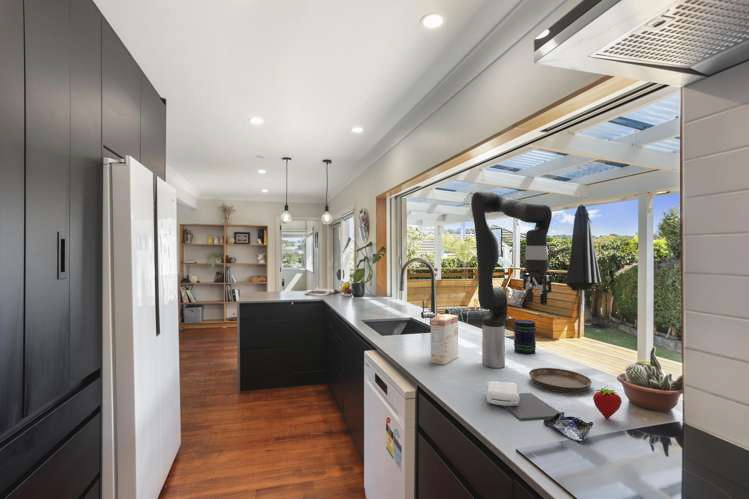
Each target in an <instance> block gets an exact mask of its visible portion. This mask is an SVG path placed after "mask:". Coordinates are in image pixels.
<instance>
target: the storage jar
mask: <svg viewBox="0 0 749 499" xmlns="http://www.w3.org/2000/svg"><path fill="white" fill-rule="evenodd" d="M513 321H514V324H513V333H514V339H513V348H514V349H513V350H514V353H515V354H518V355H524V354H525V355H527V356H528V355H529V356H531V355H530V354H533V355H536V349H537V345H536V343H537V342H536V332H537V330H536V328H537V327H536V321H534V320H531V319H514V320H513Z"/></svg>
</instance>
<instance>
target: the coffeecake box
mask: <svg viewBox="0 0 749 499" xmlns="http://www.w3.org/2000/svg"><path fill="white" fill-rule="evenodd" d="M457 358H459V315H458V314H457V315H456V314H449V313H444V314H441V315H438V316H435V317H431V318H430V363H432V364H438V365H443V366H445V365H447V364H449V363H450V362H452V361H454V360H455V359H457Z"/></svg>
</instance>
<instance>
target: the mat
mask: <svg viewBox="0 0 749 499" xmlns="http://www.w3.org/2000/svg"><path fill="white" fill-rule="evenodd" d="M519 397H520V401H519V403H518V406H502V407H504V409H506V410H507V411H508V412H509V413H511V415H513V416H514V417H516V419H518V420H519V421H529V420H530V421H531V420H544V419H551V418H553V417H554V416H555V415H556V414H557V413H561V412H560V411H558V410H557V409H556V408H555V407H552V405H549V404H548V403H547V402H545V401H543V400H542V399H541V398H540V397H537V396H536V395H534V394H533V393H532V392H523V393H521V392H519ZM563 417H565V414H564V415H563V416H561V417H560V418H563Z"/></svg>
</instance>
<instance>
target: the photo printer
mask: <svg viewBox="0 0 749 499" xmlns="http://www.w3.org/2000/svg"><path fill="white" fill-rule="evenodd" d="M485 389H486V390H485V398H486V401H487V403H489V404H491V405H496V406H502V407H503V406H518V403H519V401H520V397H519V393H520V391H519V386H518V385H517V384H516V383H513V382H505V381H498V380H497V381H496V380H495V381H494V380H491V381H487V383H486V388H485Z"/></svg>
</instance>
